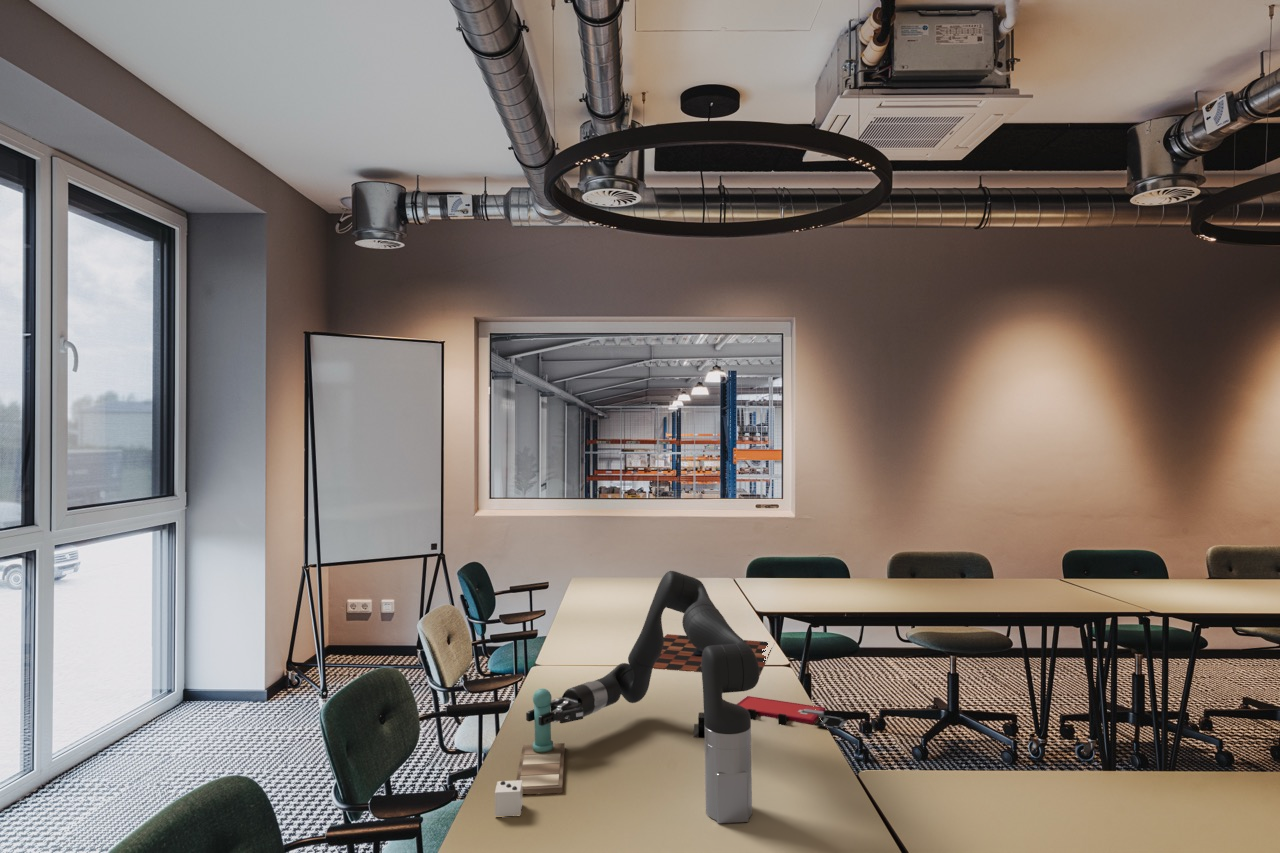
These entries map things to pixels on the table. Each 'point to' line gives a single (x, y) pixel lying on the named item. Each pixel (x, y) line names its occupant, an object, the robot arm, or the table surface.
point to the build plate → (699, 727)
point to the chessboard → (694, 654)
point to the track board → (541, 770)
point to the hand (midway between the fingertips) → (533, 719)
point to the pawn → (541, 732)
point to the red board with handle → (790, 712)
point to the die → (508, 798)
